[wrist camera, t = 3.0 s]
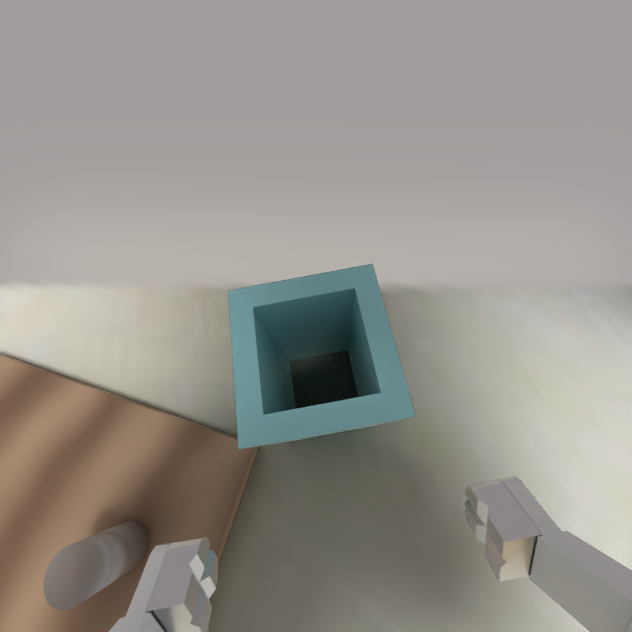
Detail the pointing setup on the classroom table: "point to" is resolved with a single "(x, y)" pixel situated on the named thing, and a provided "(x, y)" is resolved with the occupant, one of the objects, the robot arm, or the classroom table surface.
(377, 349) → the sleeve block
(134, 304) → the classroom table surface
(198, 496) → the pin plate
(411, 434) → the classroom table surface
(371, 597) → the classroom table surface
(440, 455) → the classroom table surface
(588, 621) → the robot arm
